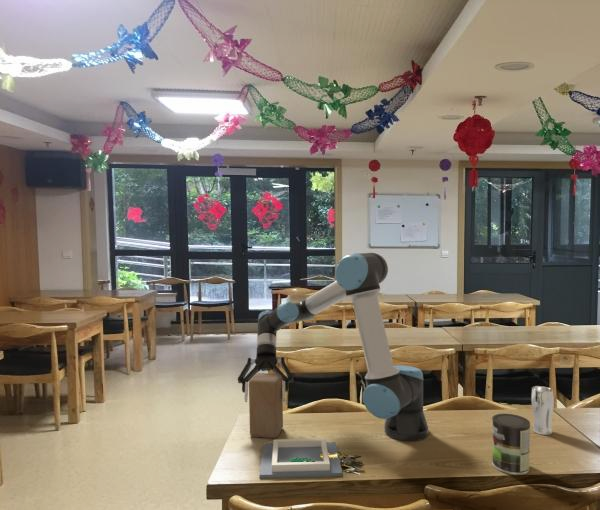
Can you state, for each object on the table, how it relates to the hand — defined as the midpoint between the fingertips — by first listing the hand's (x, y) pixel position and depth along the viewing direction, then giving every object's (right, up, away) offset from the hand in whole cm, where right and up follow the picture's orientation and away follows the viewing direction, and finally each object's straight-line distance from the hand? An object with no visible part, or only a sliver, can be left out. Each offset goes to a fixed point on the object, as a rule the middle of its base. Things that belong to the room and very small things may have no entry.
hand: (264, 400), depth 164 cm
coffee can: (+75, -12, -26) cm, 81 cm away
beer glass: (+97, -10, -2) cm, 98 cm away
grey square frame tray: (+13, -12, -20) cm, 27 cm away
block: (+1, -12, +1) cm, 12 cm away
